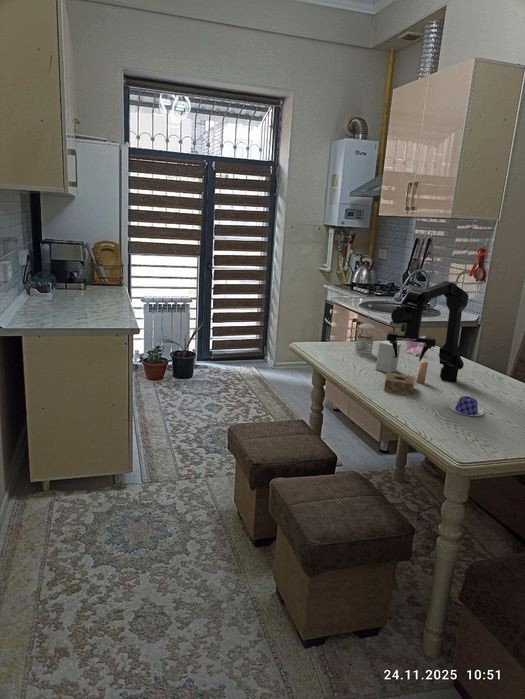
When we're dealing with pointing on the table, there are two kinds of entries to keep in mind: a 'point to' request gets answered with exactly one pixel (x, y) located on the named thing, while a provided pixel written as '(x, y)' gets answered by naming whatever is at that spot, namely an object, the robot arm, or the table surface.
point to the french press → (369, 340)
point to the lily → (413, 346)
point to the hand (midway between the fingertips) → (407, 359)
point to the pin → (422, 372)
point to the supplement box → (387, 357)
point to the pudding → (467, 406)
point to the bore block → (399, 383)
